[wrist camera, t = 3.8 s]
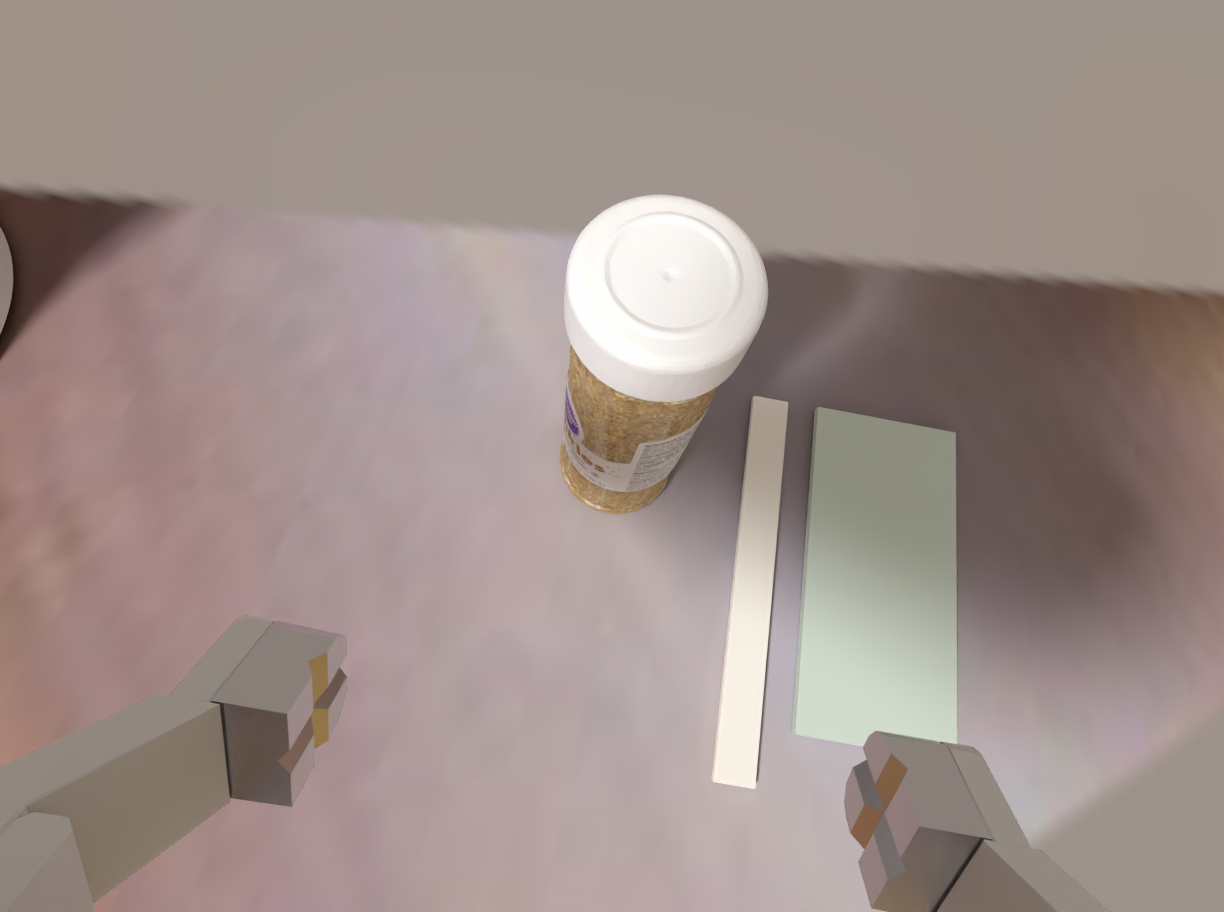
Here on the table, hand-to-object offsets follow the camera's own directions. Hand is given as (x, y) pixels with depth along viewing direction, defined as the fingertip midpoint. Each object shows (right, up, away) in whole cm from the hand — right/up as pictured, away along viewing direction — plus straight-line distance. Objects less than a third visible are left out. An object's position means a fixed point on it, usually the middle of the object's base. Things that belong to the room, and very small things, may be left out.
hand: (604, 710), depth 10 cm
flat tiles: (+9, -1, +16) cm, 18 cm away
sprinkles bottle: (0, +4, +17) cm, 17 cm away
